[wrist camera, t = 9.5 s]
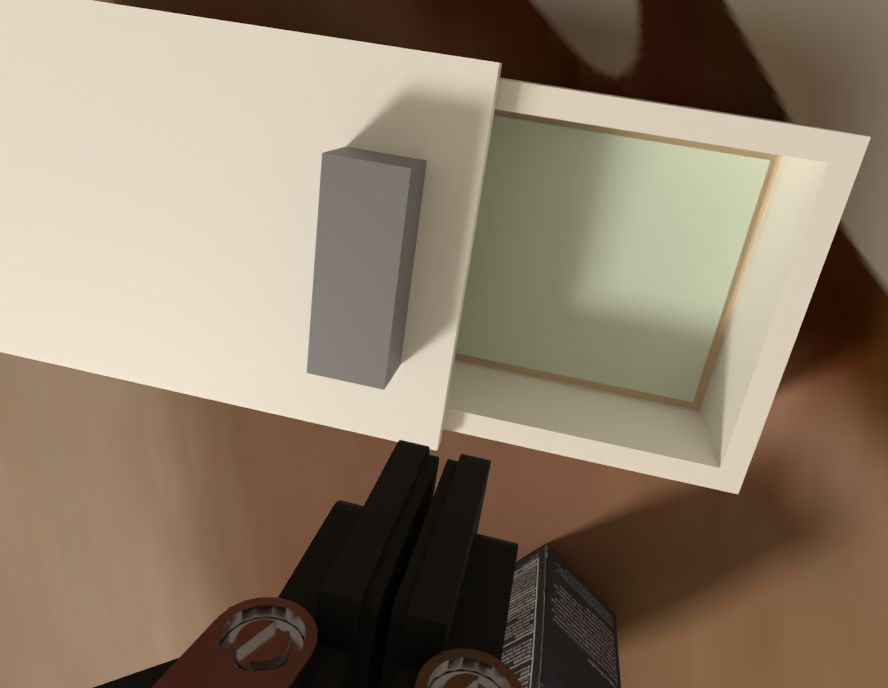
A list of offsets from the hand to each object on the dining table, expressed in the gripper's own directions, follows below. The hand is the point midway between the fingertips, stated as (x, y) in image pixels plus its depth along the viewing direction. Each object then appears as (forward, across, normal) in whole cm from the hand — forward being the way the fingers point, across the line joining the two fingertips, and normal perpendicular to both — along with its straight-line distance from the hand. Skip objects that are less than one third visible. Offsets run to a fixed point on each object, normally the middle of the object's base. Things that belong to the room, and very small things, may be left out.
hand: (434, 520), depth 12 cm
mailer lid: (+17, +13, 0) cm, 22 cm away
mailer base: (+21, 0, 0) cm, 21 cm away
